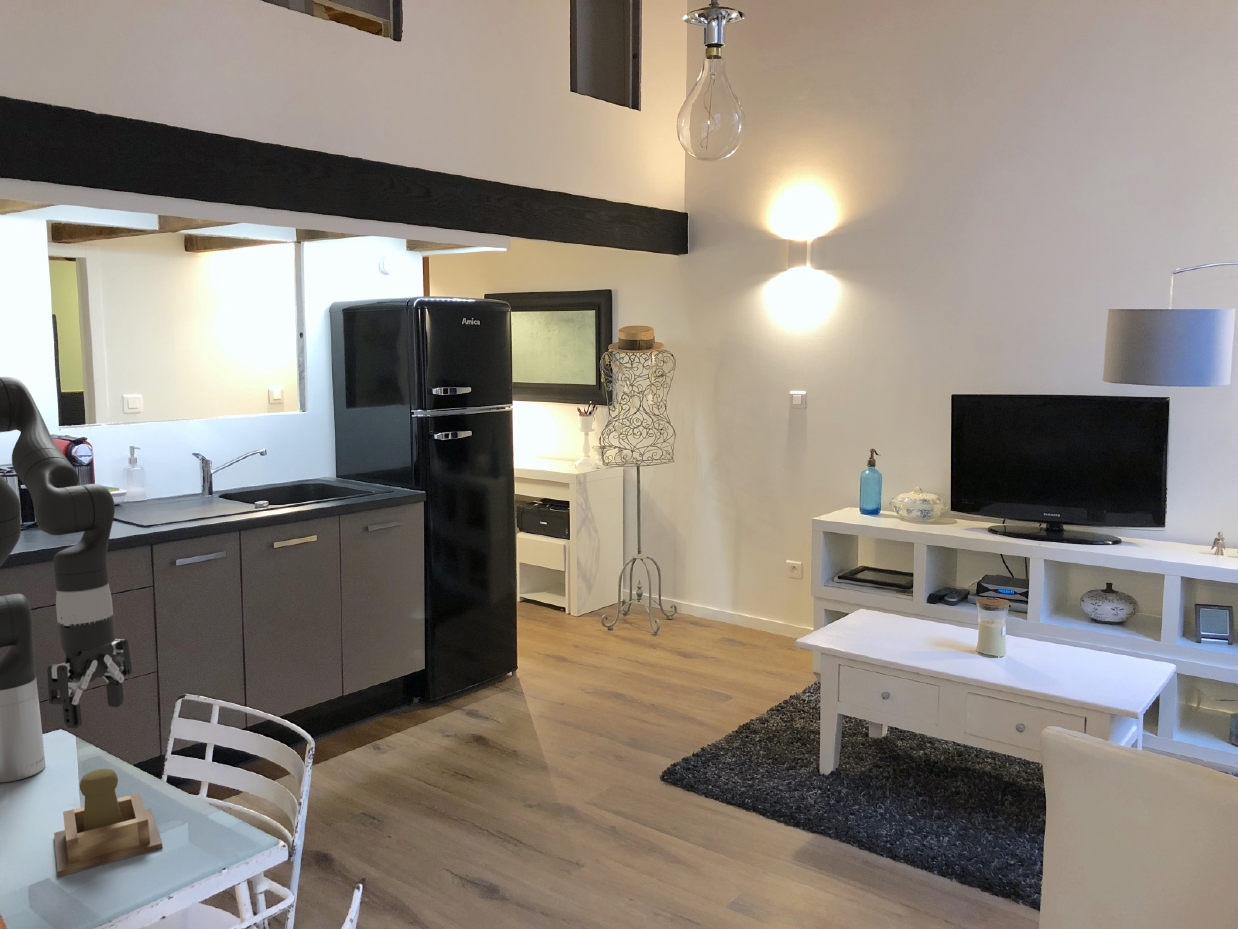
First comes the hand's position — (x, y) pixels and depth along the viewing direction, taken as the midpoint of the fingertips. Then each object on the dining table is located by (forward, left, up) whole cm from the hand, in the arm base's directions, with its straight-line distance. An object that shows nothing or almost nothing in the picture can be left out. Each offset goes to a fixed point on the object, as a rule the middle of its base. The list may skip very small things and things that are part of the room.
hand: (95, 716), depth 149 cm
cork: (+1, -1, -20) cm, 20 cm away
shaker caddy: (+1, -1, -20) cm, 20 cm away
